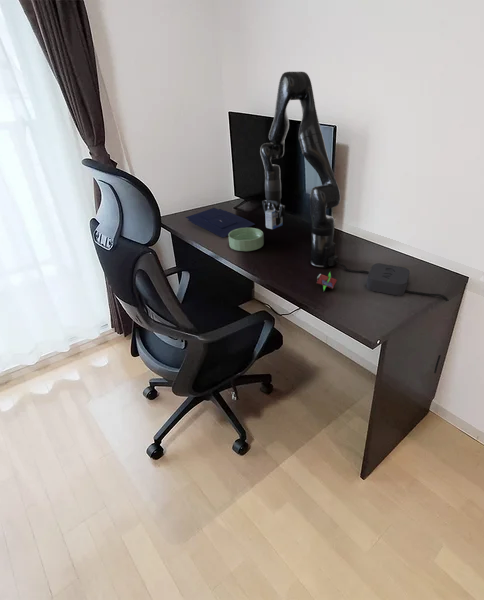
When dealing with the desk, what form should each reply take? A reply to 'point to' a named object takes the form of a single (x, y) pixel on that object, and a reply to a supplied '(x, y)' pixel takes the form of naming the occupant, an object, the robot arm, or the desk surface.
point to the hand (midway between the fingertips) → (274, 223)
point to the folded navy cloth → (219, 221)
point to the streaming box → (388, 279)
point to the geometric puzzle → (326, 281)
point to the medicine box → (272, 219)
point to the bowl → (246, 239)
